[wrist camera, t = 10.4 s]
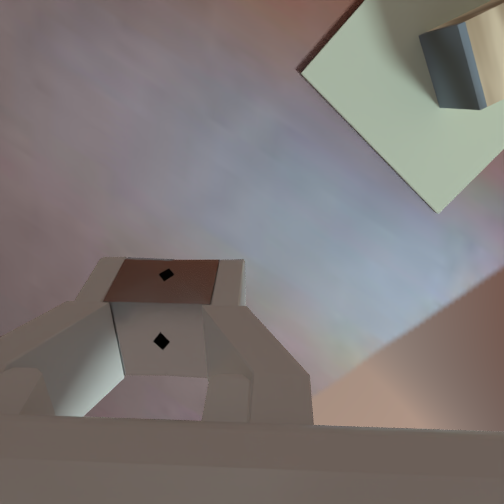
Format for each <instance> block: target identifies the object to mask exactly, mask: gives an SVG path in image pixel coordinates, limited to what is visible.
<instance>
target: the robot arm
mask: <svg viewBox="0 0 504 504" xmlns="http://www.w3.org/2000/svg"><path fill="white" fill-rule="evenodd" d="M124 375H129V376H166V375H167V376H180V377H197V378H208V381H209V384H208V389H207V395H206V400H205V405H204V411H203V416H202V421H190V420H163V419H135V418H106V417H83V416H84V415H85V414H86V413H87V412H88V411H90V410H91V409H92V408H93V407H94V406H95V405H96V404H97V403H98V402H99V401H100V400H101V399H102V398H103V397H104V396H105V395H107V394H108V393H109V392H110V391H111V390H112V389H113V388H114V387H115V386H116V385H117V384H118V383H119V382H120V381H121V380H123V379H124ZM0 504H504V432H494V431H466V430H439V429H411V428H378V427H352V426H325V425H314V423H313V412H312V398H311V385H310V375H309V374H308V373H307V372H306V371H305V370H304V369H303V367H302V366H301V365H300V364H299V363H298V362H297V361H296V360H295V359H294V358H293V357H292V355H291V354H290V353H289V352H288V351H287V350H286V349H285V348H284V347H283V346H282V344H281V343H280V342H279V341H278V340H277V339H276V338H275V337H274V336H273V335H272V333H271V332H270V331H269V330H268V329H267V328H266V327H265V326H264V325H263V324H262V323H261V321H260V320H259V319H258V318H257V317H256V316H255V315H254V314H253V313H252V312H251V310H250V309H249V308H248V307H247V306H246V272H245V261H244V259H237V260H174V259H155V258H131V257H128V258H126V257H103V258H101V259H100V260H99V262H98V263H97V265H96V267H95V268H94V270H93V271H92V273H91V275H90V276H89V278H88V280H87V281H86V283H85V284H84V286H83V288H82V289H81V291H80V293H79V294H78V296H77V297H76V299H75V301H66V302H65V303H63V304H61V305H59V306H57V307H55V308H53V309H52V310H50V311H48V312H46V313H44V314H42V315H41V316H39V317H37V318H35V319H33V320H31V321H29V322H28V323H26V324H24V325H22V326H20V327H18V328H16V329H15V330H13V331H11V332H9V333H7V334H5V335H3V336H2V337H0Z"/></svg>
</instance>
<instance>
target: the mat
mask: <svg viewBox="0 0 504 504" xmlns="http://www.w3.org/2000/svg"><path fill="white" fill-rule="evenodd" d="M489 1H491V0H364V1H363V2H362V3H361V5H360V6H359V7H358V8H357V9H356V10H355V11H354V13H353V14H352V15H351V16H350V17H349V18H348V19H347V21H346V22H345V23H344V24H343V25H342V26H341V27H340V29H339V30H338V31H337V32H336V33H335V34H334V35H333V37H332V38H331V39H330V40H329V41H328V42H327V43H326V45H325V46H324V47H323V48H322V49H321V50H320V51H319V53H318V54H317V55H316V56H315V57H314V58H313V59H312V61H311V62H310V63H309V64H308V65H307V66H306V68H305V69H304V70H303V71H302V72H301V73H300V74H301V75H302V76H303V77H304V78H305V79H306V80H307V81H308V82H309V83H310V84H311V85H312V86H313V87H314V88H315V89H316V90H317V91H318V92H319V93H320V94H321V95H322V96H323V97H324V99H325V100H326V101H327V102H328V103H329V104H330V105H331V106H332V107H333V108H334V109H335V110H336V111H337V112H338V113H339V114H340V115H341V116H342V117H343V118H344V119H345V120H346V121H347V122H348V123H349V124H350V125H351V126H352V127H353V128H354V129H355V130H356V131H357V132H358V133H359V134H360V135H361V136H362V138H363V139H364V140H365V141H366V142H367V143H368V144H369V145H370V146H371V147H372V148H373V149H374V150H375V151H376V152H377V153H378V154H379V155H380V156H381V157H382V158H383V159H384V160H385V161H386V162H387V163H388V164H389V165H390V166H391V167H392V168H393V169H394V170H395V171H396V172H397V173H398V174H399V175H400V177H401V178H402V179H403V180H404V181H405V182H406V183H407V184H408V185H409V186H410V187H411V188H412V189H413V190H414V191H415V192H416V193H417V194H418V195H419V196H420V197H421V198H422V199H423V200H424V201H425V202H426V203H427V204H428V205H429V206H430V207H431V208H432V209H433V210H434V211H435V212H436V213H437V214H439V213H440V212H441V211H442V210H443V209H444V208H445V207H446V206H447V205H448V204H449V203H450V202H451V201H452V200H453V199H454V198H455V197H456V196H457V195H458V194H459V193H460V192H461V191H462V190H463V189H464V188H465V187H466V186H467V185H468V184H469V183H470V182H471V181H472V180H473V179H474V178H475V177H476V176H477V175H478V174H479V173H480V172H481V171H482V170H483V169H484V168H485V167H486V166H487V165H488V164H489V163H490V162H491V161H492V160H493V159H494V158H495V157H496V156H497V155H498V154H499V153H500V152H501V151H502V150H503V149H504V99H503V100H501V101H499V102H496V103H494V104H492V105H490V106H488V107H486V108H484V109H482V110H468V109H451V108H440V107H439V104H438V101H437V97H436V94H435V90H434V87H433V84H432V80H431V77H430V74H429V70H428V67H427V63H426V60H425V57H424V53H423V50H422V47H421V43H420V40H419V35H421V34H423V33H425V32H427V31H429V30H431V29H433V28H435V27H437V26H439V25H442V24H444V23H446V22H448V21H450V20H452V19H454V18H456V17H458V16H460V15H462V14H464V13H466V12H468V11H470V10H472V9H475V8H477V7H479V6H481V5H483V4H485V3H487V2H489Z"/></svg>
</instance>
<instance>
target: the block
mask: <svg viewBox="0 0 504 504" xmlns="http://www.w3.org/2000/svg"><path fill="white" fill-rule="evenodd" d="M419 40H420V43H421V47H422V50H423V53H424V57H425V60H426V63H427V67H428V70H429V74H430V77H431V80H432V84H433V87H434V90H435V94H436V97H437V101H438V104H439V107H440V108H451V109H468V110H482V109H484V108H486V107H488V106H490V105H492V104H494V103H496V102H499V101H501V100H503V99H504V0H491V1H489V2H487V3H485V4H483V5H481V6H479V7H477V8H475V9H472V10H470V11H468V12H466V13H464V14H462V15H460V16H458V17H456V18H454V19H452V20H450V21H448V22H446V23H444V24H442V25H439V26H437V27H435V28H433V29H431V30H429V31H427V32H425V33H423V34H421V35H419Z"/></svg>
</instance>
